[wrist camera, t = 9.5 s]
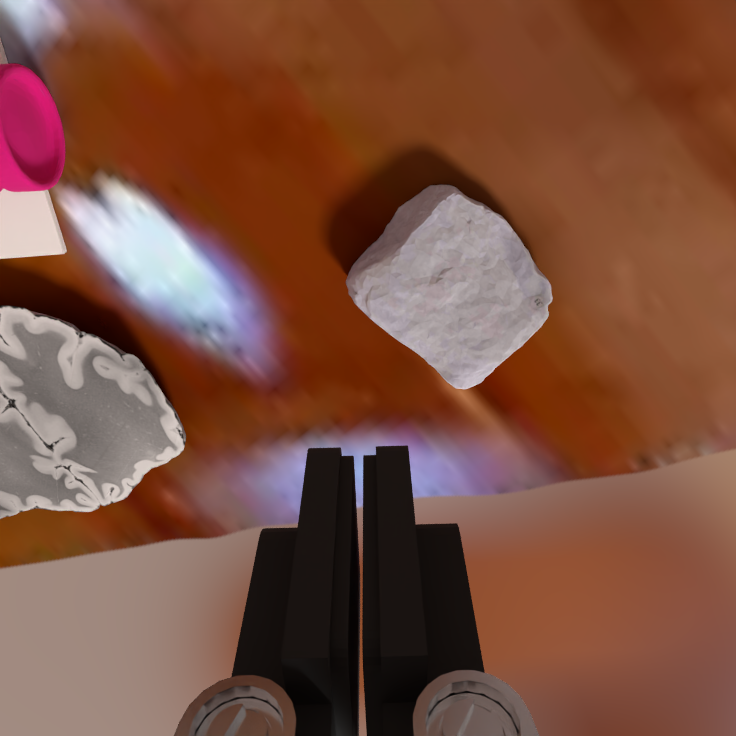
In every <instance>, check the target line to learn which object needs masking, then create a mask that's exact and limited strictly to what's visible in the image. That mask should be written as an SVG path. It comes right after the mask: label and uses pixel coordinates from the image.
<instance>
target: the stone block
mask: <svg viewBox="0 0 736 736" xmlns="http://www.w3.org/2000/svg"><path fill="white" fill-rule="evenodd" d="M346 284H347V287H348V290H349V295H350V296H351V297H352V299H353V301H354V303H355V304H356V305H357V306H358V307H359V308H360V309H361V310H362V311H363V312H364V313H365V314H366V315H367V316H368V317H369V318H370V319H371V320H372V321H374V322H375V323H376V324H377V325H379V326H380V327H381V328H383V329H384V330H385V331H386V332H388V333H389V334H390V335H391V336H393V337H394V338H395V339H397V340H398V341H399V342H401V343H402V344H404V345H406V346H407V347H409V348H410V349H412V350H413V351H415V352H416V353H417V354H419V355H420V356H421V357H422V358H424V359H425V360H426V361H427V362H428V363H429V364H430V365H431V366H432V367H434V368H435V369H436V370H437V371H438V373H439V374H440V375H441V376H442V377H443V378H444V379H445V380H446V381H447V382H448V383H449V384H451V385H452V386H453V387H455V388H459V389H468V388H470V387H473V386H475V385H477V384H479V383H481V382H482V381H483V380H484V379H485V377H487V376H488V375H489V374H491V373H492V371H493V370H494V369H495V368H496V367H497V366H498V365H500V364H501V363H502V362H503V361H504V360H505V359H507V358H508V357H509V356H510V355H511V354H512V353H513V352H515V351H516V350H517V349H518V348H520V347H521V346H522V345H523V344H524V343H525V342H526V341H527V340H528V339H529V338H530V337H531V336H532V335H533V334H534V333H535V332H536V331H537V330H538V329H539V328H540V327H541V326H542V325H543V323H544V322H545V321H546V319H547V317H548V316H549V313H548V305H549V304H550V303H551V302H552V299H553V298H552V294H551V285H550V283H549V281H548V279H547V278H546V277H545V276H544V275H543V274H542V273H541V272H540V270H539V269H538V268H537V266H536V265H535V263H534V261H533V260H532V258H531V255H530V253H529V251H528V250H527V249H526V248H525V246H524V245H523V243H522V241H521V240H520V238H519V237H518V236H517V234H516V233H515V232H514V231H513V229H512V228H511V226H510V225H509V224H508V222H507V221H506V220H505V219H504V218H503V217H502V216H501V215H499V214H498V213H495V212H493V211H492V210H491V209H490V208H488V207H487V206H485V205H484V204H483V203H480V202H478V201H475V200H473V199H471V198H468V197H467V196H466V195H464V194H463V193H462V192H461V191H459V190H458V189H457V188H456V187H454V186H451V185H442V184H440V185H430V186H429V187H427V188H425V189H424V190H423V191H422V192H420V193H419V194H418V195H416V196H415V197H413V198H412V199H411V200H409V201H407V202H406V203H405V204H403V205H402V206H400V207H399V208H398V210H397V212H396V213H395V215H394V217H393V218H392V220H391V221H390V223H388V224H387V226H386V228H385V230H384V233H383V234H382V235H381V236H380V237H379V238H378V240H377V241H376V242H374V243H373V244H372V245H371V246H369V247H368V249H367V250H366V251H365V252H364V253H363V254H362V255H361V256H360V257H359V258H358V260H357V261H356V262H355V263H354V264H353V266H352V267H351V270H350V272H349V274H348V277H347V280H346Z"/></svg>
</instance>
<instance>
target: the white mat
mask: <svg viewBox="0 0 736 736" xmlns="http://www.w3.org/2000/svg"><path fill="white" fill-rule="evenodd" d="M0 64H8V61H7V58H6V54H5V51H4V48H3V45H2V42H1V38H0ZM66 252H67V250H66V246H65V243H64V240H63V237H62V234H61V230H60V227H59V224H58V221H57V218H56V214H55V211H54V208H53V205H52V202H51V198H50V195H49V192H48V190H44V191H30V192H11V191H8V190H6V189H3V190H2V191H1V192H0V259H3V258H16V257H30V256H43V255H56V254H64V253H66Z"/></svg>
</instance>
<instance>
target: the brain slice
mask: <svg viewBox="0 0 736 736" xmlns="http://www.w3.org/2000/svg"><path fill="white" fill-rule="evenodd" d="M185 441H186V434H185V431H184V428H183V426H182V424H181V422H180V419H179V417H178V414H177V412H176V411H175V409H174V408H173V406H172V404H171V403H170V401H169V400H168V399H167V398H166V396H165V395H164V394H163V393H162V391H161V389H160V388H159V386H158V384H157V382H156V381H155V379H154V377H153V376H152V374H151V373H150V371H148V370H147V369H146V368H145V367H144V365H143V363H142V362H141V360H140V359H138V358H137V357H135V356H134V355H133V354H127V353H126V352H124V351H122V350H121V349H119V348H118V347H117V346H115V345H113V344H111V343H109V342H107V341H105V340H103V339H102V338H100V337H98V336H95V335H93V334H87V333H85V332H83V331H82V332H81V331H80V330H79V329H78V328H77V327H76V326H75V325H73V324H71V323H69V322H66V321H64V320H61V319H58V318H55V317H52V316H49V315H46V314H41V313H37V312H33V311H30V310H28V309H25V308H21V307H16V306H0V519H1V518H3V517H7V516H13V515H16V514H18V513H19V512H22V511H26V510H31V509H35V508H39V509H46V510H55V511H70V510H71V511H75V512H91V511H93V510H96V509H98V508H99V506H100V504H101V505H103V506H106V505H108V504H111V503H114V502H117V501H120V500H123V499H126V497H127V496H128V495H129V494H130V493H131V491H132V489H133V488H134V487H135V486H136V485H137V484H138V483H139V482H140V481H141V480H142V478H143V475H144V474H146V473H147V472H148V471H149V470H150V469H152V468H154V467H157V466H160V465H163V464H165V463H167V462H169V461H170V460H171V459H172V458H174V457H176V456H178V455H179V454H180V453H181V452H182V451H183V450H184V446H185Z"/></svg>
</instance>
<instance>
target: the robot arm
mask: <svg viewBox="0 0 736 736" xmlns="http://www.w3.org/2000/svg"><path fill="white" fill-rule="evenodd" d="M362 632H363V633H362V634H363V636H362V639H363V675H364V692H365V708H366V709H365V710H366V728H367V736H539V735H538V732H537V729H536V727H535V724H534V722H533V719H532V717H531V714H530V712H529V711H528V709H527V707H526V705H525V703H524V702H523V700H522V698H521V697H520V696H519V695H518V694H517V693H516V692H515V691H514V690H513V689H512V688H511V687H510V686H509V685H508V684H507V683H505V682H503V681H502V680H500V679H498V678H496V677H495V676H493V675H491V674H487V673H485V672H484V667H483V661H482V656H481V650H480V644H479V639H478V633H477V627H476V621H475V616H474V610H473V605H472V599H471V593H470V588H469V582H468V576H467V571H466V565H465V559H464V553H463V548H462V542H461V536H460V532H459V527H458V525H457V524H420V525H415V514H414V504H413V493H412V483H411V472H410V461H409V451H408V446H378V447H376V455H364V457H363V630H362ZM359 649H360V566H359V547H358V528H357V509H356V491H355V472H354V457H353V456H342V454H341V448H309V449H308V453H307V460H306V468H305V475H304V483H303V491H302V498H301V506H300V514H299V522H298V528H266V529H262V531H261V534H260V537H259V541H258V547H257V551H256V557H255V562H254V566H253V572H252V577H251V583H250V587H249V592H248V597H247V602H246V607H245V612H244V617H243V622H242V627H241V632H240V637H239V642H238V647H237V652H236V657H235V662H234V668H233V673H232V677H231V678H227V679H224V680H221V681H219V682H217V683H215V684H214V685H212V686H210V687H209V688H207V689H205V690H204V691H203V692H202V693H201V694H200V695H199V696H198V697H197V698H196V699H195V700H194V701H193V702H192V703H191V704H190V705H189V706H188V708H187V710H186V712H185V713H184V715H183V717H182V719H181V720H180V722H179V724H178V727H177V729H176V732H175V734H174V736H359V657H360V656H359V655H360V650H359Z"/></svg>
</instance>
